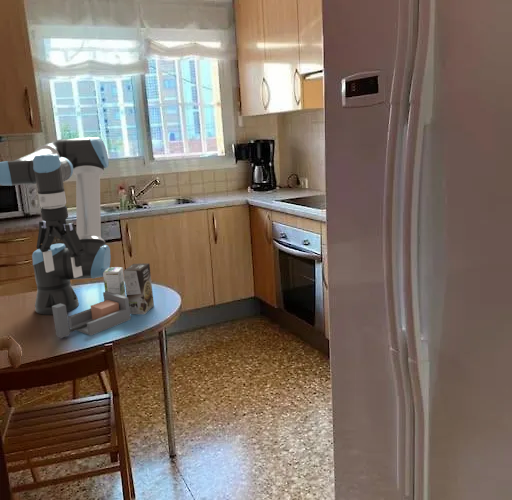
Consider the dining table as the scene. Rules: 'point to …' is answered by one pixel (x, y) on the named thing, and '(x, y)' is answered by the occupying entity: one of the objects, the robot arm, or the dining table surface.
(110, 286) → the syrup box
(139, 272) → the coffee box
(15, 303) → the dining table surface
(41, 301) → the robot arm
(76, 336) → the dining table surface
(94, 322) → the tray
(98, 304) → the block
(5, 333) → the dining table surface
